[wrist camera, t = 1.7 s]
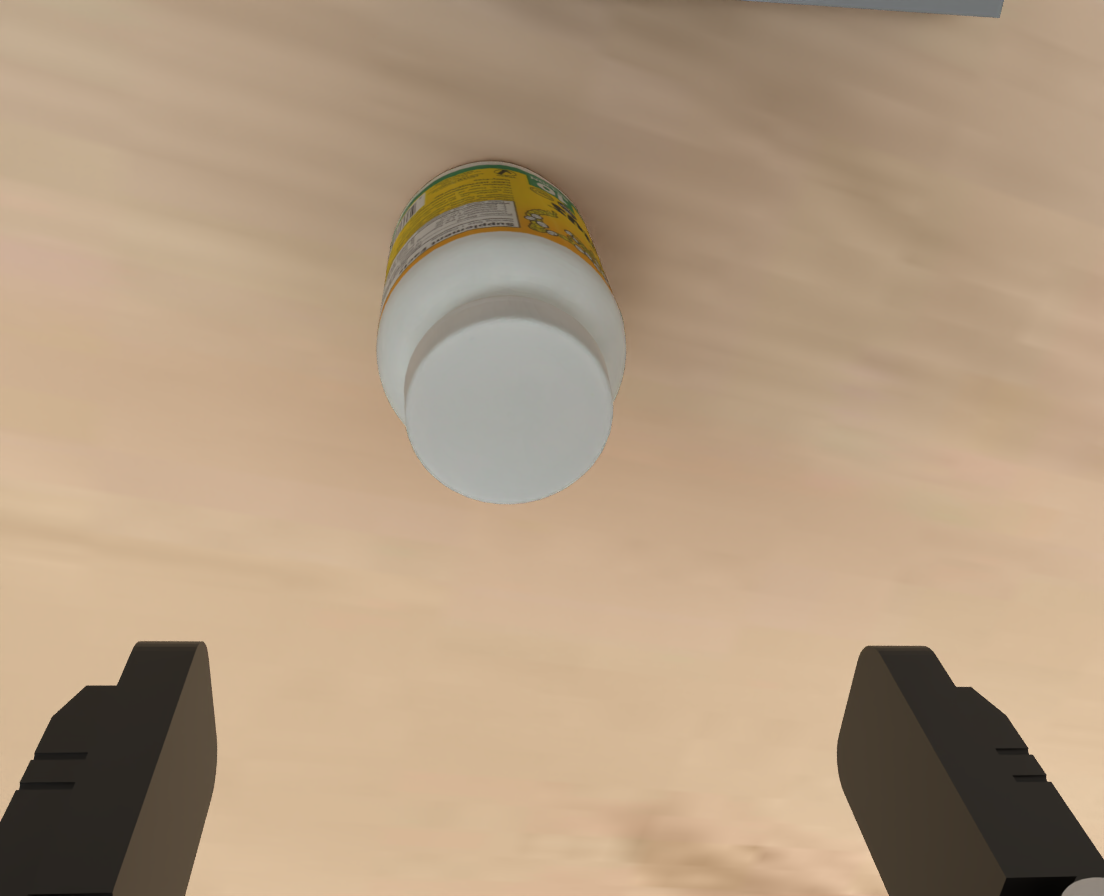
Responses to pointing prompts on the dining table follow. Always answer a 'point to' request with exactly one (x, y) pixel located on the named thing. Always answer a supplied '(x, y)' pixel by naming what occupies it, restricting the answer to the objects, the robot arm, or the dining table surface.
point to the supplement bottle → (499, 334)
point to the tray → (913, 5)
